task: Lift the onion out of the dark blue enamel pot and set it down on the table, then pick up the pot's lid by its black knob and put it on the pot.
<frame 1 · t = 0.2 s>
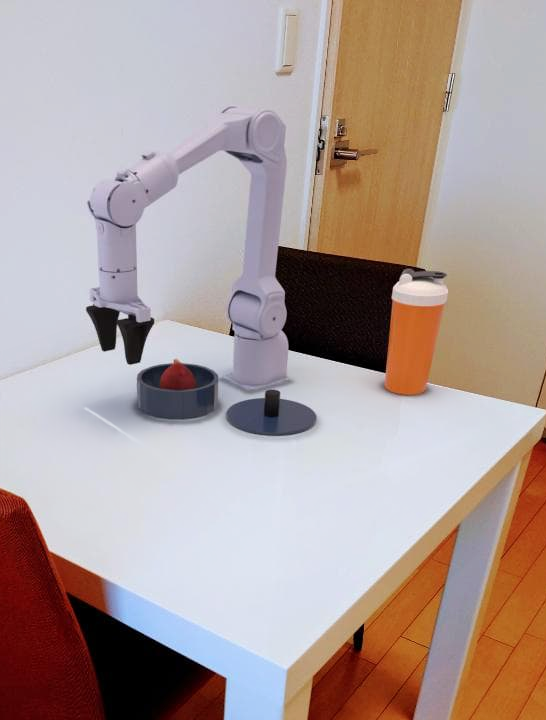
hand: (120, 356, 127), 10 cm above the table, tool pointing down, fingers open, 7 cm apart
lid: (271, 417, 130), point 1 cm above the table
onion: (177, 406, 136), resting on pot
shaker bottle: (404, 389, 143), on the table
pot: (177, 406, 136), on the table
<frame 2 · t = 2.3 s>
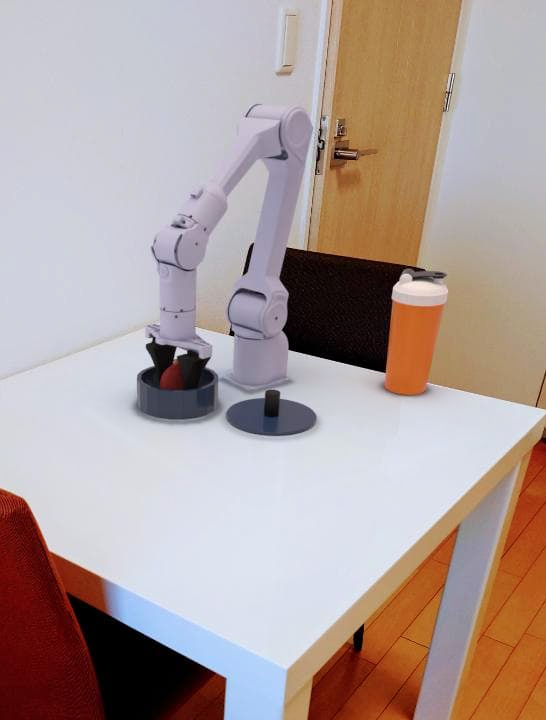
hand: (177, 389, 134), 3 cm above the table, tool pointing down, fingers closed on onion, 6 cm apart
onion: (177, 406, 136), resting on pot, touching gripper
everything else where it was.
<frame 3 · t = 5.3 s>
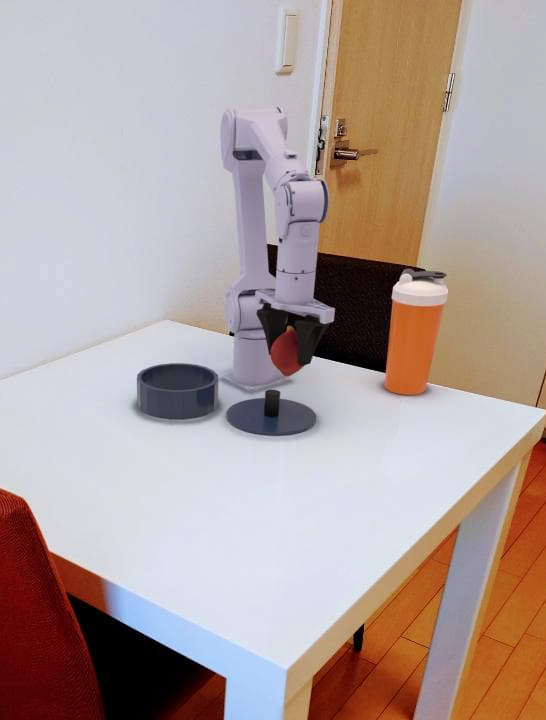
hand: (289, 358, 126), 10 cm above the table, tool pointing down, fingers closed on onion, 6 cm apart
onion: (287, 377, 127), point 7 cm above the table, touching gripper
everything else where it was.
when the fingers open (3 cm above the table, at t = 8.6 s): onion stays where it is, on the table.
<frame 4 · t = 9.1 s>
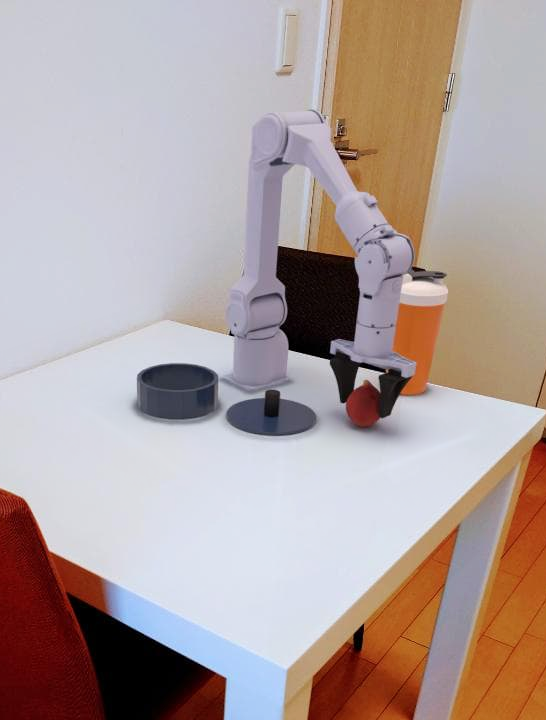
hand: (364, 408, 126), 3 cm above the table, tool pointing down, fingers open, 7 cm apart
onion: (361, 429, 128), on the table
everything else where it was.
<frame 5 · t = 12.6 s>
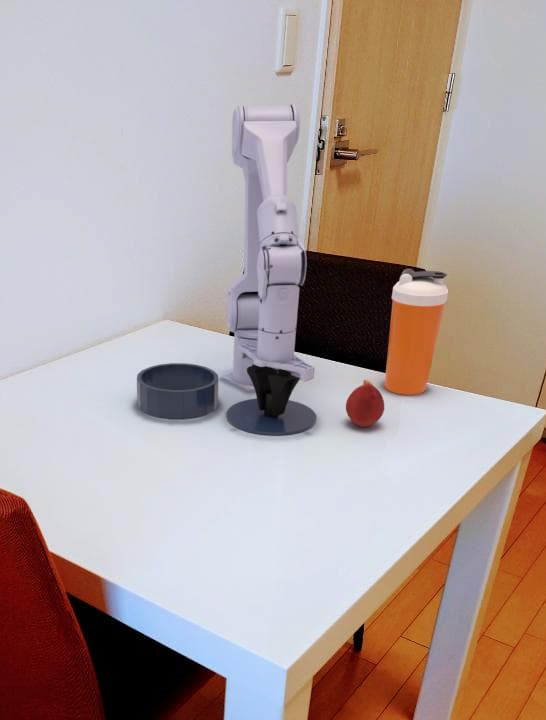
hand: (271, 411, 130), 2 cm above the table, tool pointing down, fingers closed on lid, 2 cm apart
lid: (271, 417, 130), point 1 cm above the table, touching gripper
everything else where it was.
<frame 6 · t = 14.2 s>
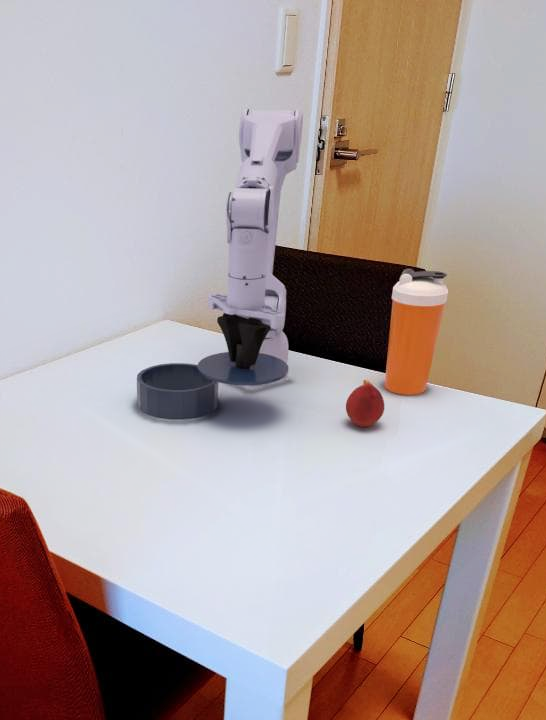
hand: (242, 362, 128), 9 cm above the table, tool pointing down, fingers closed on lid, 2 cm apart
lid: (242, 369, 128), point 8 cm above the table, touching gripper
everything else where it was.
when the fingers open (6 cm above the table, at t = 16.3 s): lid stays where it is, resting on pot.
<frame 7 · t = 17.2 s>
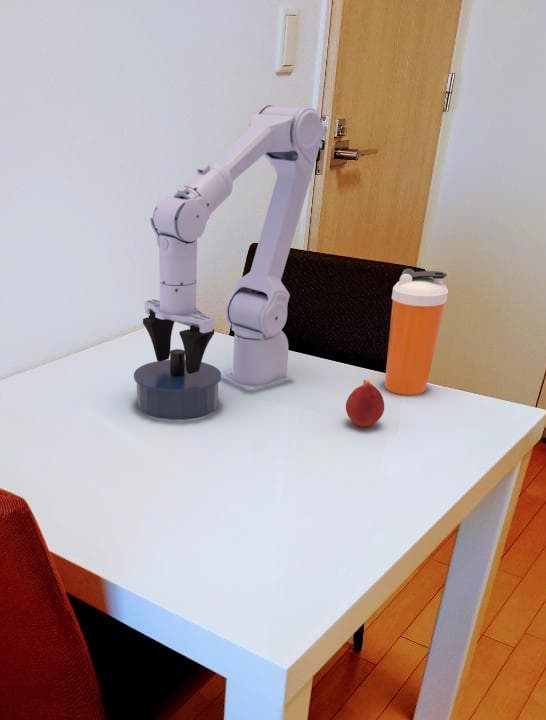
hand: (177, 365, 132), 7 cm above the table, tool pointing down, fingers open, 7 cm apart
lid: (177, 376, 133), point 5 cm above the table, touching pot
everything else where it was.
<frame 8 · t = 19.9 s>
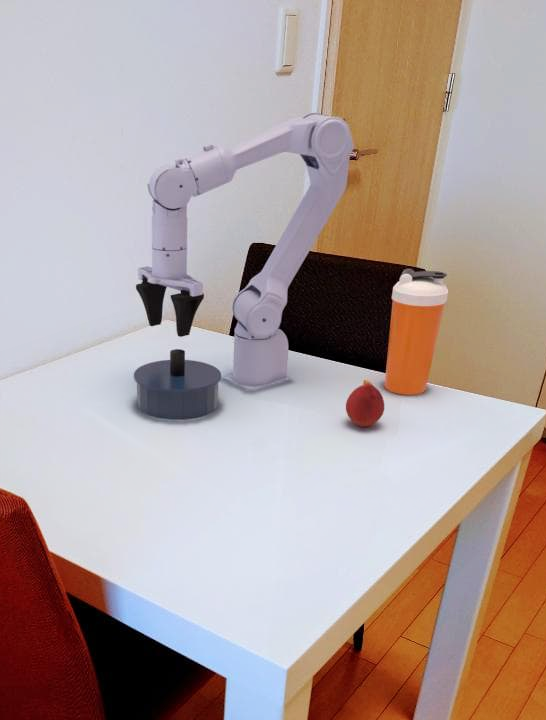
hand: (169, 330, 138), 10 cm above the table, tool pointing down, fingers open, 7 cm apart
nothing on the table moved.
at the end: onion inside the target area (0.1 cm from its centre), on the table; lid 0.1 cm off-centre on the pot, point 5.3 cm above the pot's base; lid tilted 0° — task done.
